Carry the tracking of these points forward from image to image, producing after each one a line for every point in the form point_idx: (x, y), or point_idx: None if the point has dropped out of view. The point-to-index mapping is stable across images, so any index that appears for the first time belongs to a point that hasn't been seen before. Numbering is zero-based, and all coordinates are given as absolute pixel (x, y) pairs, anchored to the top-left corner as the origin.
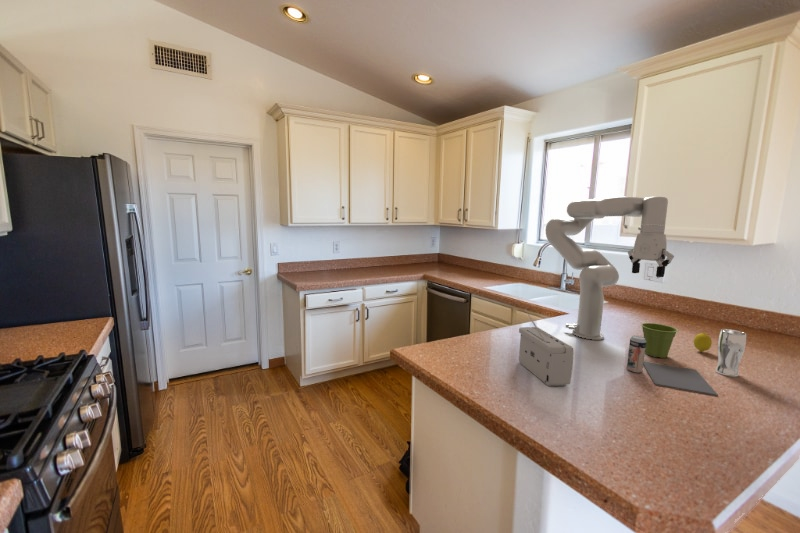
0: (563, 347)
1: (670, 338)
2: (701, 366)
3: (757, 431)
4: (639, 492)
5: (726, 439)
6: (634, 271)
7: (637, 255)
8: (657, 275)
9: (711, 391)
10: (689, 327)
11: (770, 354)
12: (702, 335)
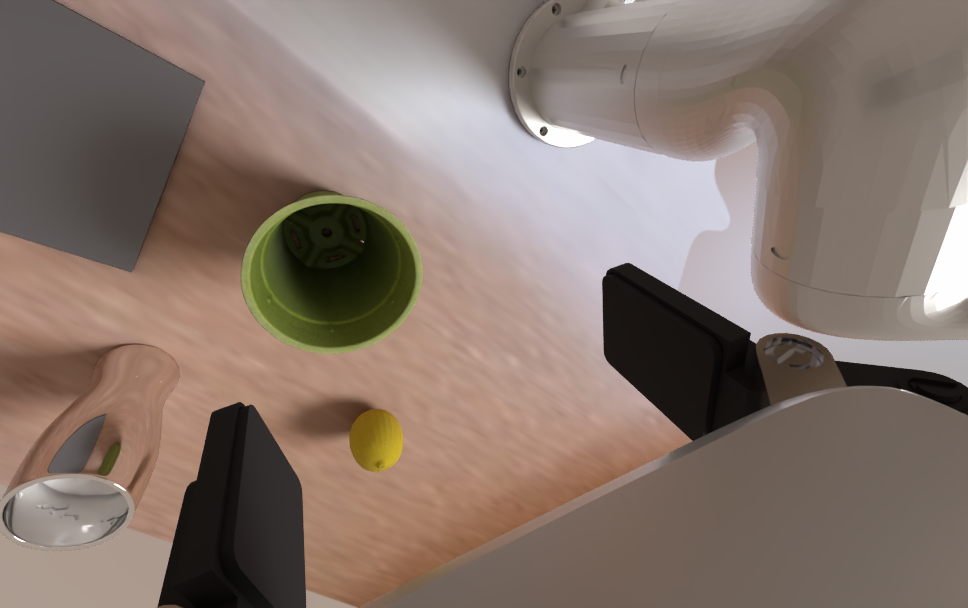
0: None
1: (266, 282)
2: (205, 328)
3: None
4: None
5: None
6: (615, 292)
7: (855, 480)
8: (214, 421)
9: None
10: (575, 493)
11: (358, 567)
12: (373, 453)
